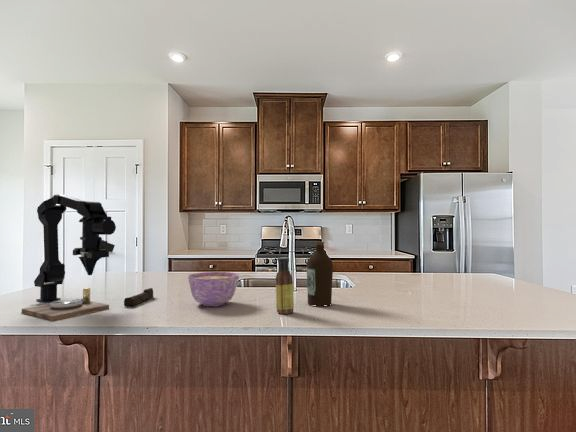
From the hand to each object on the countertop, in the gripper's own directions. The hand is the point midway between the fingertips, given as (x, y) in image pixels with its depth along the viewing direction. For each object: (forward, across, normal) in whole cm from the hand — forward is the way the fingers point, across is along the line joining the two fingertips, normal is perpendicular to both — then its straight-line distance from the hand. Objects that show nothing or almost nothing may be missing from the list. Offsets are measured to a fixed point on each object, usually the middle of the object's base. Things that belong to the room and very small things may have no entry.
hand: (90, 275), depth 139 cm
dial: (+10, 0, +6) cm, 12 cm away
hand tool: (+12, -6, -17) cm, 22 cm away
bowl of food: (+12, -32, -34) cm, 48 cm away
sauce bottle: (+12, -62, -42) cm, 76 cm away
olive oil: (+12, -63, -62) cm, 89 cm away
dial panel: (+12, 0, +8) cm, 14 cm away
